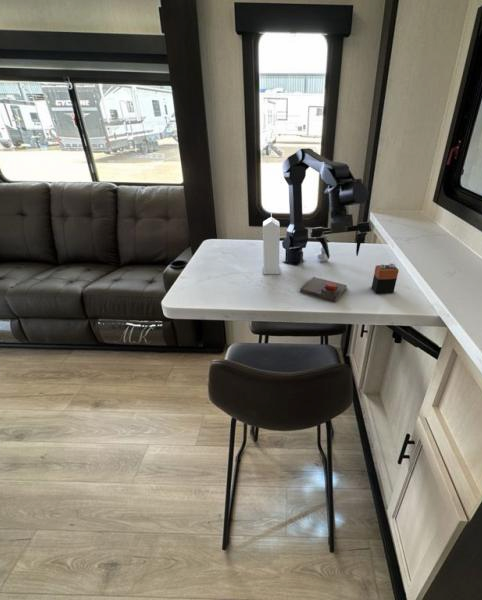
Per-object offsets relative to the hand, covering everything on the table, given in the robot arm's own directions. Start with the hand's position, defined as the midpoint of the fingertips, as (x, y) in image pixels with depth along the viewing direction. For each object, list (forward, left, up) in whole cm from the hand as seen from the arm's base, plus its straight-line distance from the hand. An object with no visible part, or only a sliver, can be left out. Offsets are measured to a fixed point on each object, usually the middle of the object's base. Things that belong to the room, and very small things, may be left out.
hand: (342, 256), depth 99 cm
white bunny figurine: (-16, +24, -14) cm, 32 cm away
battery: (+13, +10, -14) cm, 21 cm away
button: (-2, -4, -10) cm, 11 cm away
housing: (-5, -1, -13) cm, 15 cm away
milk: (-29, +3, -14) cm, 32 cm away
